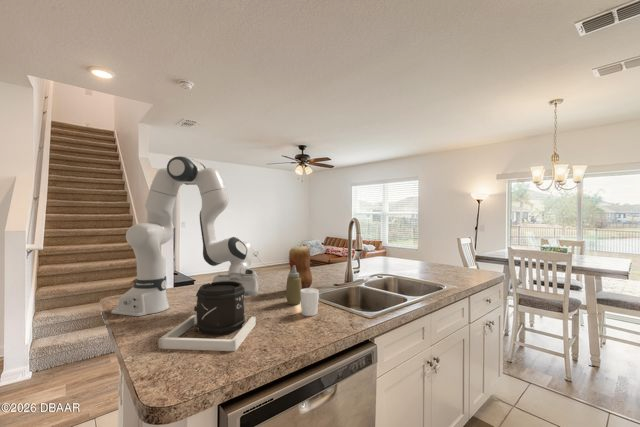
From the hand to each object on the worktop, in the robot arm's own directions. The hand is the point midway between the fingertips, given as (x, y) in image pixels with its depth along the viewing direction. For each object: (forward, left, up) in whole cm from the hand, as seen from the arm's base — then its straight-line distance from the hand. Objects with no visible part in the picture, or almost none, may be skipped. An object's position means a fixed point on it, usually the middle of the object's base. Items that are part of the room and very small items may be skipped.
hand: (229, 304), depth 122 cm
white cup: (+32, +9, -6) cm, 34 cm away
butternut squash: (+23, +44, -6) cm, 50 cm away
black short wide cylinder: (0, -9, -6) cm, 11 cm away
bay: (0, -16, -6) cm, 17 cm away
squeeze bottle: (+23, +23, -6) cm, 33 cm away
